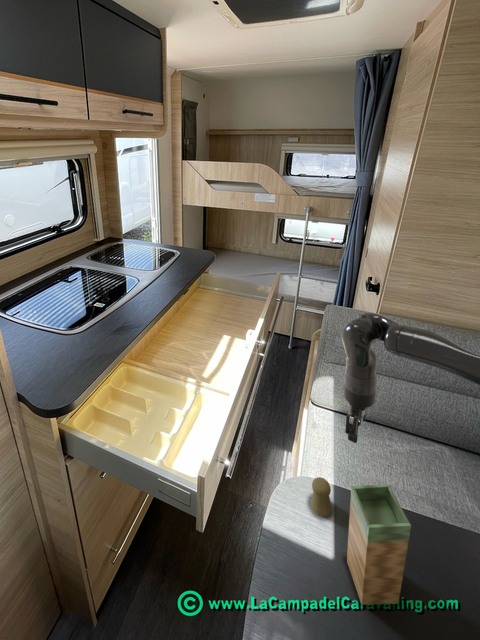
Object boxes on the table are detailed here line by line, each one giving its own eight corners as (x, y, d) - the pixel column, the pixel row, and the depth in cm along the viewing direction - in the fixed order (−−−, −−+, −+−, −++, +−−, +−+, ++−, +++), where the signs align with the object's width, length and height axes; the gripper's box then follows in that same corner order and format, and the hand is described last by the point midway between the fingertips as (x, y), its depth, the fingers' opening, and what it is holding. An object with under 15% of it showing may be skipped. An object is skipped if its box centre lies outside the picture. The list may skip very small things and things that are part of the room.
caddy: (379, 561, 86) (389, 484, 75) (398, 605, 78) (411, 525, 67) (346, 562, 86) (351, 486, 76) (361, 606, 78) (368, 527, 68)
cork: (335, 515, 97) (336, 491, 93) (316, 521, 96) (317, 496, 92) (324, 495, 102) (325, 471, 99) (306, 500, 102) (306, 476, 98)
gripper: (368, 408, 78) (365, 456, 83) (382, 373, 87) (377, 418, 93) (336, 395, 82) (334, 441, 88) (352, 363, 92) (350, 407, 98)
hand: (356, 429), depth 91 cm, fingers open, 8 cm apart
